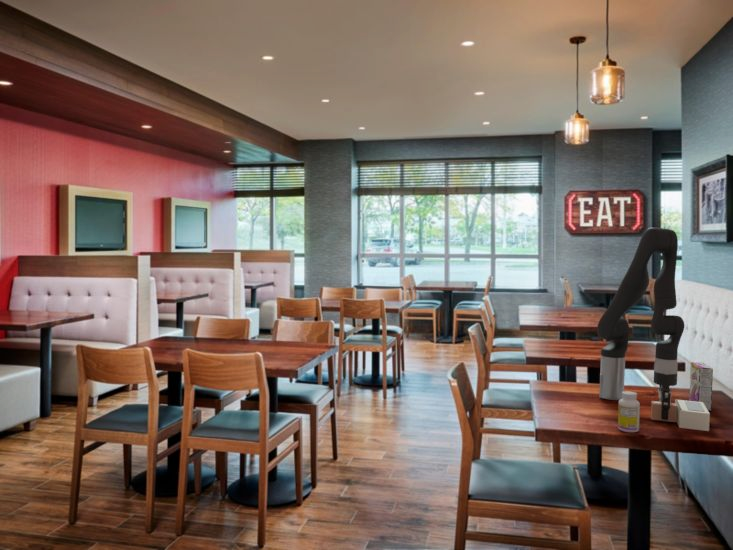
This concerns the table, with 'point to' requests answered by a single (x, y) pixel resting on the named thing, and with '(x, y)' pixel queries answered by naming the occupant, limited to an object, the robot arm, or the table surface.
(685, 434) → the table surface
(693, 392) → the candy bar box
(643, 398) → the table surface
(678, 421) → the block
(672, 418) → the tan cardboard box
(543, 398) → the table surface
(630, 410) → the supplement bottle
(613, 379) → the robot arm
